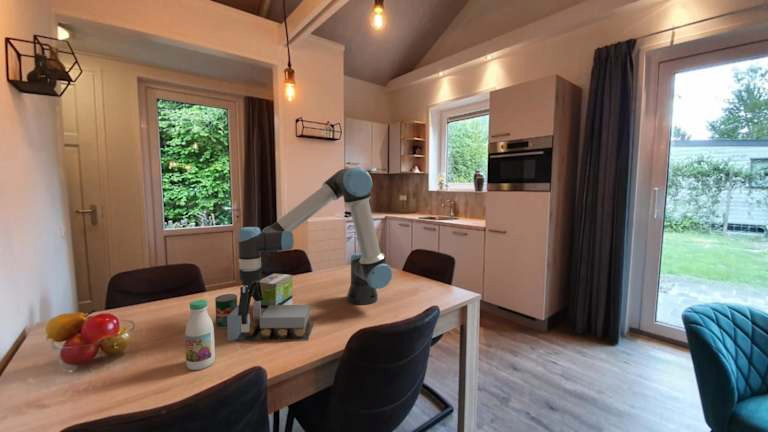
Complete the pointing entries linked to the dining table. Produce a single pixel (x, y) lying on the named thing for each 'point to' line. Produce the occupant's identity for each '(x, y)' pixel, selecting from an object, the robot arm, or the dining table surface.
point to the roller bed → (274, 334)
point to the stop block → (234, 324)
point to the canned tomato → (224, 308)
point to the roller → (253, 326)
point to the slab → (285, 316)
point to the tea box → (276, 290)
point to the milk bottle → (199, 337)
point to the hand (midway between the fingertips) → (251, 324)
